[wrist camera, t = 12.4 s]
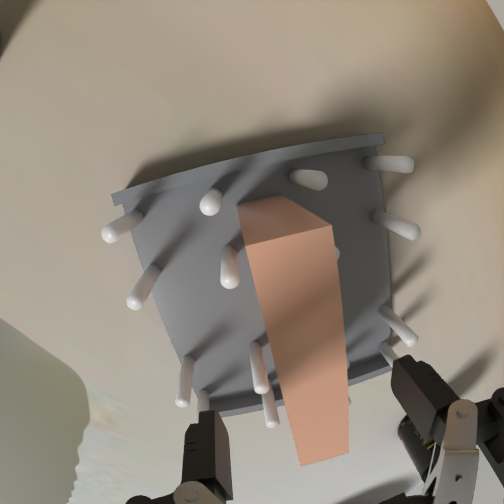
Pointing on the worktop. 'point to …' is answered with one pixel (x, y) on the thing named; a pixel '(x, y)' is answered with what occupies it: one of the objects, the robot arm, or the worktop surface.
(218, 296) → the rack
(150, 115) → the worktop surface
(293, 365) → the block
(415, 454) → the supplement container
